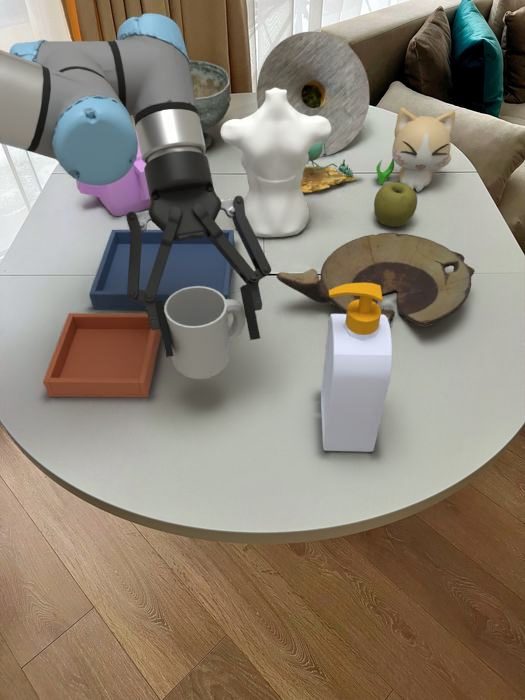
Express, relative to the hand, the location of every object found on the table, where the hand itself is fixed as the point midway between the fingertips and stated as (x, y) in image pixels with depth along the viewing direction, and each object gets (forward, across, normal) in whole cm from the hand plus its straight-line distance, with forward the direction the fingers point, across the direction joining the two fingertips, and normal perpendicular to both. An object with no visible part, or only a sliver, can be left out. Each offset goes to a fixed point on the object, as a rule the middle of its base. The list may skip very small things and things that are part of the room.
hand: (213, 347), depth 66 cm
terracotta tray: (-1, +13, -18) cm, 23 cm away
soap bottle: (+13, -15, -4) cm, 20 cm away
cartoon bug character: (-28, -32, -45) cm, 62 cm away
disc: (-42, -38, -59) cm, 82 cm away
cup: (+1, 0, -6) cm, 6 cm away
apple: (-16, -41, -33) cm, 55 cm away
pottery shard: (-3, -29, -20) cm, 36 cm away
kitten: (-24, -51, -41) cm, 70 cm away
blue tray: (-13, +2, -30) cm, 33 cm away
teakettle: (-33, +4, -50) cm, 60 cm away
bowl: (-46, -11, -63) cm, 79 cm away
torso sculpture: (-20, -20, -37) cm, 46 cm away
